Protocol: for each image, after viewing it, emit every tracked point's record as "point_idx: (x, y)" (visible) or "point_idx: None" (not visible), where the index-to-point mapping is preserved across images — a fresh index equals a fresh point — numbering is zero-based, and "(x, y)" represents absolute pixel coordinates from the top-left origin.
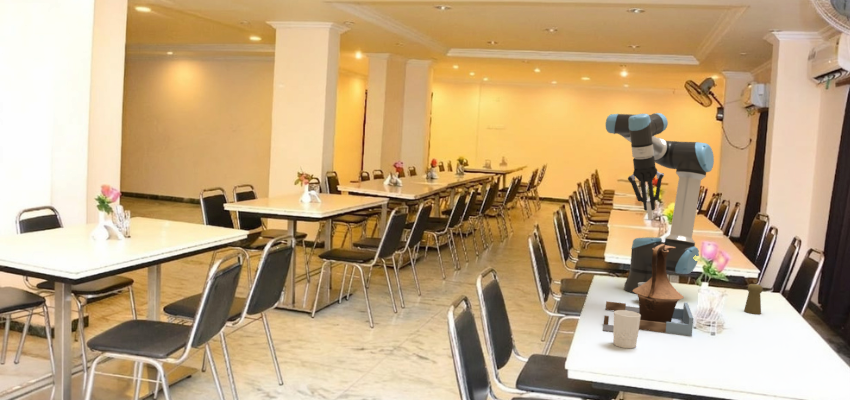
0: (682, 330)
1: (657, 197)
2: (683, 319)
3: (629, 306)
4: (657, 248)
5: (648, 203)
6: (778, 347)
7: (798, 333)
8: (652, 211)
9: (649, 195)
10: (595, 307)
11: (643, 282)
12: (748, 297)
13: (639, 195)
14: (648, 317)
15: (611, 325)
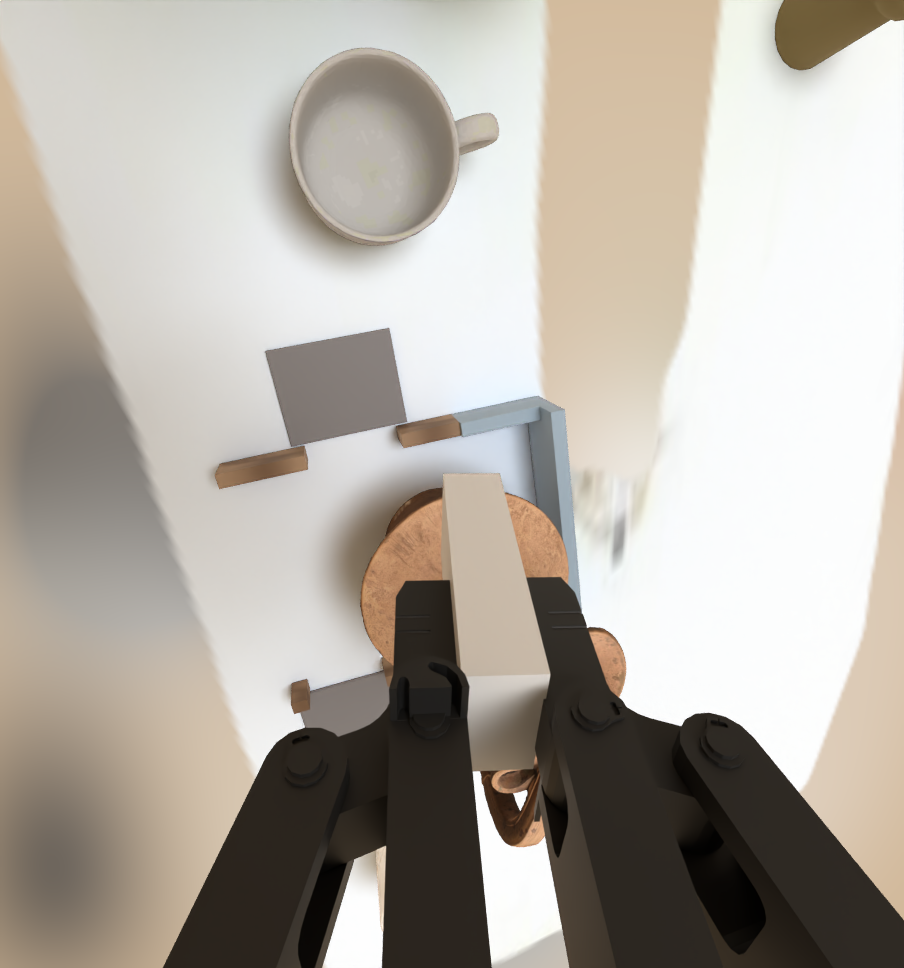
0: None
1: (710, 857)
2: (533, 448)
3: (298, 346)
4: (531, 845)
5: (494, 757)
6: (771, 560)
7: (875, 335)
8: (512, 538)
9: (564, 935)
10: (169, 463)
11: (312, 83)
12: (844, 10)
13: (319, 963)
14: None
15: (322, 693)
